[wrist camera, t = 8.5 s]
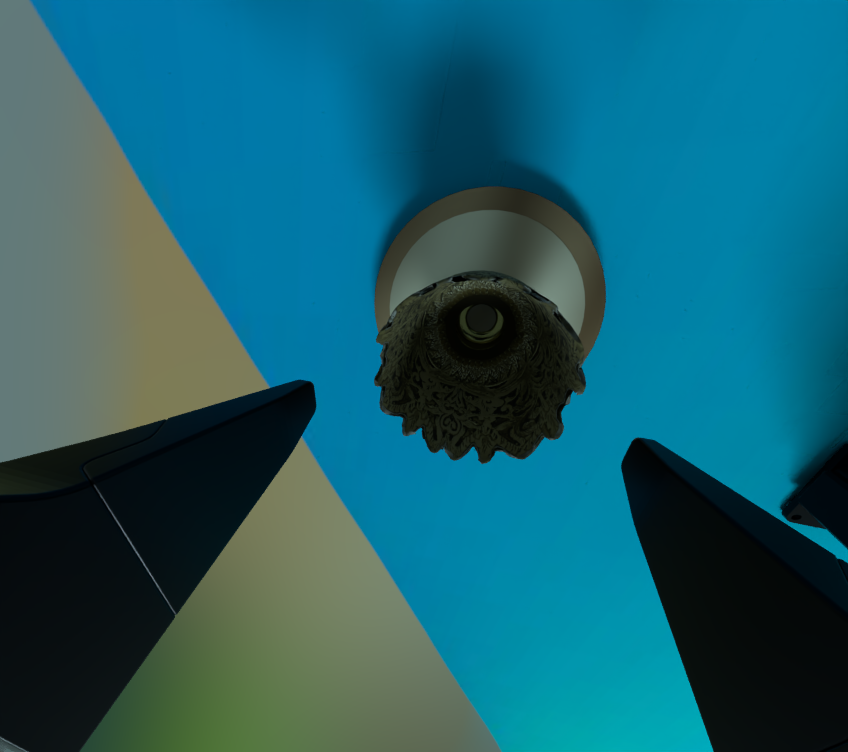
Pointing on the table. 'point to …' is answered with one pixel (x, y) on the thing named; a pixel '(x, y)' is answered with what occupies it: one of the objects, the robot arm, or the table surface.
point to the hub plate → (498, 255)
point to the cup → (479, 366)
